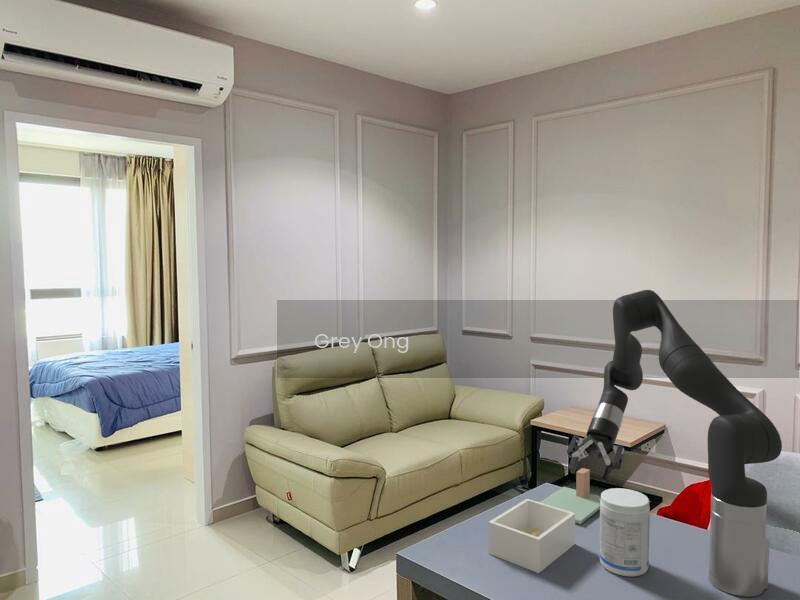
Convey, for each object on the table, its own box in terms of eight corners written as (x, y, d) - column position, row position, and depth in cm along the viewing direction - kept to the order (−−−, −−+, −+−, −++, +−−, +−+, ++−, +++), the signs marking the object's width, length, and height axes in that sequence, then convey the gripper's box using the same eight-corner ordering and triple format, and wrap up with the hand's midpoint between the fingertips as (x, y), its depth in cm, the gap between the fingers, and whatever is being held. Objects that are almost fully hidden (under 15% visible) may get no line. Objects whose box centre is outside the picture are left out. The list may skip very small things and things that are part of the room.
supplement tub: (615, 549, 129) (616, 483, 127) (657, 567, 121) (659, 497, 120) (589, 564, 122) (590, 495, 121) (632, 584, 115) (634, 510, 114)
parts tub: (526, 527, 139) (527, 498, 139) (574, 544, 131) (575, 513, 131) (488, 553, 127) (488, 521, 127) (538, 573, 119) (539, 539, 119)
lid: (563, 492, 160) (564, 463, 160) (608, 504, 152) (609, 474, 151) (533, 512, 148) (533, 481, 147) (580, 527, 140) (581, 494, 139)
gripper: (577, 411, 166) (557, 462, 159) (628, 421, 157) (609, 476, 149) (585, 426, 171) (566, 476, 163) (634, 436, 161) (617, 490, 154)
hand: (586, 476), depth 156 cm, fingers open, 8 cm apart
